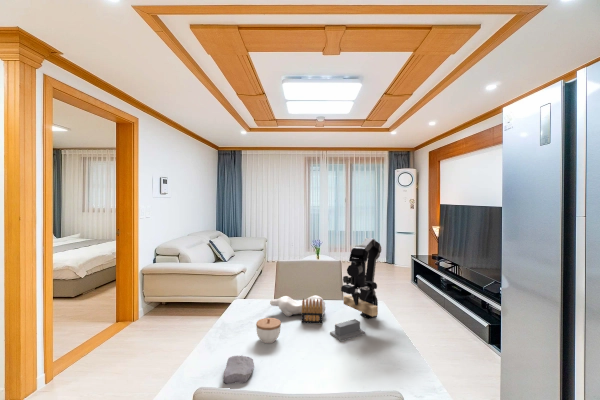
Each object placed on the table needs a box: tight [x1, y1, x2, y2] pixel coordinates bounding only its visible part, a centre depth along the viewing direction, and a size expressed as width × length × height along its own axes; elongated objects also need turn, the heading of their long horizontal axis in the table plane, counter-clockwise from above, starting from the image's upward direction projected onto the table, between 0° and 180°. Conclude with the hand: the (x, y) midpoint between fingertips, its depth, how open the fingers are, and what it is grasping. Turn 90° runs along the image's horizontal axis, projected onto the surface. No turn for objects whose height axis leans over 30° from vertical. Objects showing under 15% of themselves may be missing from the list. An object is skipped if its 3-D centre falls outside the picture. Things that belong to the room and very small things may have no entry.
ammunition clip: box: [300, 298, 324, 325], centre depth 148 cm, size 11×2×12 cm, turn 87°
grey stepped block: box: [329, 318, 366, 342], centre depth 135 cm, size 14×8×5 cm, turn 121°
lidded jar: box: [255, 317, 282, 344], centre depth 129 cm, size 11×11×9 cm
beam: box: [343, 294, 379, 318], centre depth 143 cm, size 20×4×4 cm, turn 32°
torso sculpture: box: [269, 294, 326, 317], centre depth 160 cm, size 16×11×30 cm
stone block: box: [222, 355, 255, 385], centre depth 104 cm, size 12×5×10 cm
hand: (359, 304), depth 143 cm, fingers closed on beam, 3 cm apart
